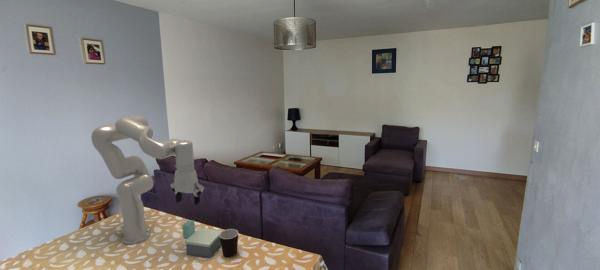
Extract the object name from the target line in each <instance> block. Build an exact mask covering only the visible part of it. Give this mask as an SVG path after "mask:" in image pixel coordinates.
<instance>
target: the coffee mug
mask: <svg viewBox="0 0 600 270" xmlns="http://www.w3.org/2000/svg"><path fill="white" fill-rule="evenodd" d="M221 231H222V232H221V233H220V234H219V237H220V242H221V247H220V248H221V250H222V251H221V252H222V255H223V257H224V258H227V259H228V258H234V257H236V256H237V254H238V245H239V244H238V242H239V231H238V230H237V229H234V228H227V229H224V230H221Z"/></svg>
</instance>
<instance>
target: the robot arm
mask: <svg viewBox="0 0 600 270" xmlns="http://www.w3.org/2000/svg"><path fill="white" fill-rule="evenodd" d="M148 121H149V120H148V119H146V118H145V117H144V116H142V115H139V114H138V115H129V116H122V117H120V118H118V119H117V120H116V122H115V123H113V124H111V123H110V124H106V125H102V126H101V125H100V126H98V127H96V128H95V129H93V131H92V132H91V136H90V138H91V143H92V145H93V147H94V149H96V151H97V152H98V153H99V155H100V157H101V158H102V160H103V162H104V164H105V165H106V167H107V169H108V171H109V173H110V175H111V176H112V177H113V178H114V179H115V180H121V179H124V178H127V177H128V179H125V180H123V181H122V182H120V183H118V184H117V187H116V188H115V191H116V195H117V198H118V200H119V203H120V207H121V214H122V221H123V222H122V223H123V228H121V230H120V231H119V233H120V234H121V235H123V236H122V238H121V243H123V244H125V245H134V244H138V243H141V242H143V241H145V240H148V239H149V237H150V236H151V231H150V230H148V229H147V224H146V216H145V209H144V202H143V200H142V199H140V198H139V196H141V195H143V194H144V193H146V192H149V191H151V189H153V187H154V180H153V177H152V175H151V173H150V172H149V171H150V170H148V168H147V165H146V164H145V162H144V160H143V159H142V158H141V157H139V156H138V155H131V156H127V157H126V155H124V153H123V150H122V149H121V148H120V147H118V146H117V145H116V144H114V143H113V142H117V141H123V140H127V139H131V140H133V141H135V142H137V143H138V145H139V146H138V147H140V149H141V151H142V152H143V153H144V154H146V155H148V156H149V157H151V158H154V159H157V160H163V159H166V158H169V157H172V156H173V157H174V156H175V164H174V167H175V170H174V171H175V172H174V178H173V181H174V182H173V183H170V184H169V185H170V188H171V190H172V192H174V193H173V194H174V195H175V201H176V203H177V204H178V203H180V202H181V201H183V195H182V193H183V194H193V195H194V197H193V203H194V206H196V205H198V204H200V203H201V196H200V195H201V194H202V193H203V191H204V189H205V187H204V186H203V185H202V184H200V183H199V180H198V174H197V170H196V169H195V161H194V159H195V158H194V146H193V145H194V144H193V142H192V141H190V140H187V139H186V140H181V139H178V138H169V139H166V140H162V141H160V142H159V141H158V142H157V141H156V140H153V139H152V138H153V135H154V130H153V129H152V127H150V126H149V123H148ZM130 176H132V177H130Z"/></svg>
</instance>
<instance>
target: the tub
mask: <svg viewBox="0 0 600 270" xmlns="http://www.w3.org/2000/svg"><path fill="white" fill-rule="evenodd" d="M185 246H186V247H185V248H186V255H187V256H191V257H193V256H194V257H198V258H205V259H211V258H212V257H213V256H214V255H215V254H216V252H218V250H219V249H220V248H222V247H221V242H220V237H219V238H218V239H217V240H216V241H215V242H214V243H213V244H212V245H211V246H210V247H205V246H198V245H191V244H185Z"/></svg>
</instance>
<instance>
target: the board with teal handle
mask: <svg viewBox="0 0 600 270" xmlns="http://www.w3.org/2000/svg"><path fill="white" fill-rule="evenodd" d="M222 231H223V230H216V229H208V228H200V227H199V228H198V229H197V230H196V226H195V220H192V219H189V220H187V221H186V222H184V223H183V224H182V236H183V237H182V238H183V239H184V241H183V243H184V245H186V244H191V245H198V246H205V247H210V246H211V245H212V244H213V243H214V242H215V241H216V240H217V239H218V238H219V234H220V233H221V232H222Z"/></svg>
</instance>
